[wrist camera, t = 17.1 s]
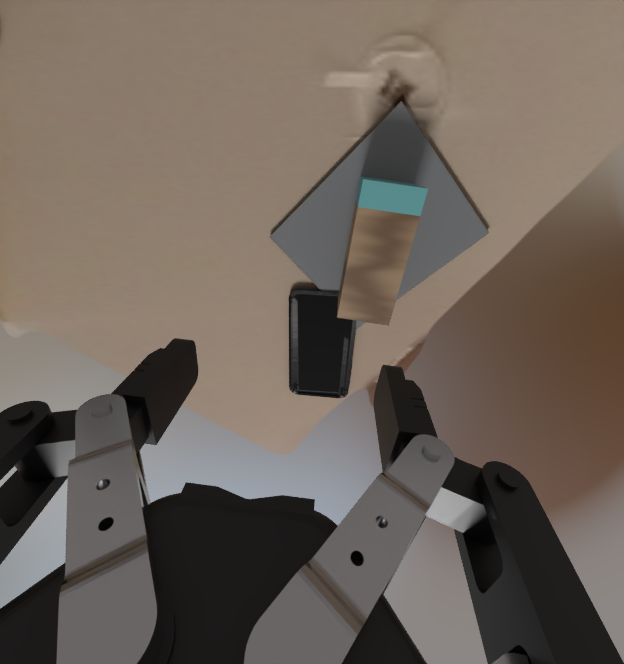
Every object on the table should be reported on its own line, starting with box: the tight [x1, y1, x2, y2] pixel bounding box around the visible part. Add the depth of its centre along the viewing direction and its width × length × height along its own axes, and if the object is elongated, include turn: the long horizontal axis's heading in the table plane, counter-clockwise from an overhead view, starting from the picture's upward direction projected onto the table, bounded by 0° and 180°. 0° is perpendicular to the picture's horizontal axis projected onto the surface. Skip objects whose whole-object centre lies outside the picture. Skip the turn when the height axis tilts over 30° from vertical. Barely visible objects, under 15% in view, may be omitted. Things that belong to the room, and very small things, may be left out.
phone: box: [289, 288, 356, 398], centre depth 37 cm, size 8×1×15 cm
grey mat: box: [270, 101, 489, 328], centre depth 30 cm, size 14×16×1 cm
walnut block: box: [337, 176, 428, 326], centre depth 28 cm, size 5×5×12 cm
